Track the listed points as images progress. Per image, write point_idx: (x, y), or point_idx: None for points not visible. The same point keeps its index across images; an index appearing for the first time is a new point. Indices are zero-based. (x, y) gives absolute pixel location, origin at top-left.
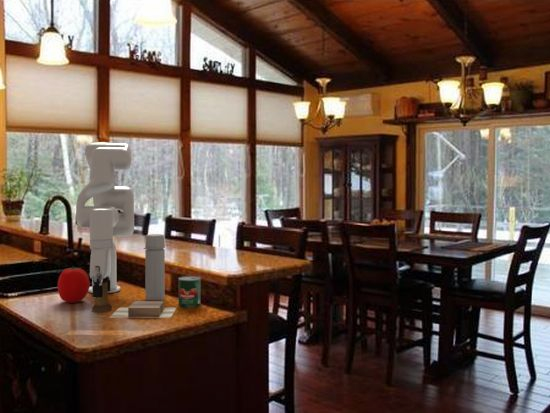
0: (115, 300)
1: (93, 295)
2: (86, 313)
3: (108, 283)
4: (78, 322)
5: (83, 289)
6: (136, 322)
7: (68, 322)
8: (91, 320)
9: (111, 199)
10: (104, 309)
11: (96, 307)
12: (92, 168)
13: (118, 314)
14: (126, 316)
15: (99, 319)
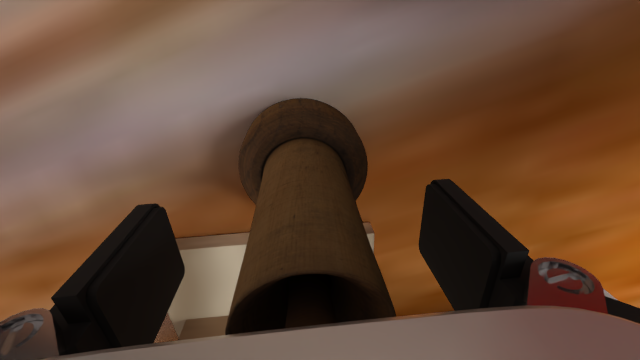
0: (632, 126)
1: (135, 217)
2: (298, 55)
3: (452, 299)
4: (63, 89)
5: None
6: (172, 335)
7: (30, 14)
8: (138, 151)
9: None
10: (254, 202)
11: (250, 158)
12: None
13: (219, 273)
14: (191, 311)
15: (173, 185)
